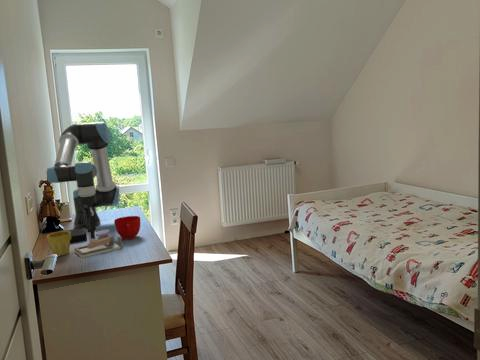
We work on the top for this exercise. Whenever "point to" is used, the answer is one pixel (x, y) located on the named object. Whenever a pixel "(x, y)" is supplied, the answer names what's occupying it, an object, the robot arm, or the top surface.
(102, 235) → the toy table
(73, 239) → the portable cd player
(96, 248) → the seating jig
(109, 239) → the bar
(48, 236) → the plant pot
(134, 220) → the ceramic cup
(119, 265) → the top surface
